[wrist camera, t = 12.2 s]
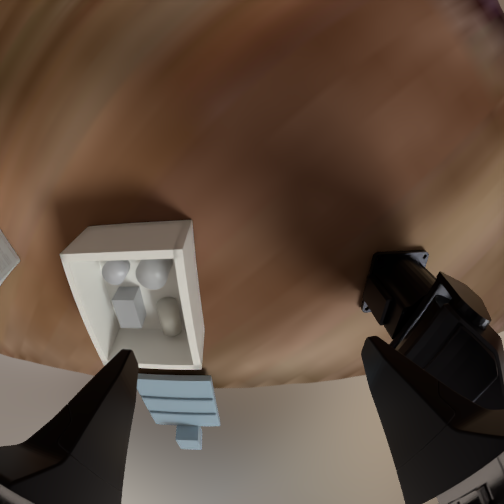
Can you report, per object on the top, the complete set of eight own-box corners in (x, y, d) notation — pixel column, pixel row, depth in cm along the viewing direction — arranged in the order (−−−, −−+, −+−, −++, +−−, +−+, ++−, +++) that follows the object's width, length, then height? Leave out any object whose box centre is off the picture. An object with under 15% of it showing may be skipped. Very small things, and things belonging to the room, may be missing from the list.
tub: (88, 226, 20) (59, 254, 16) (192, 219, 21) (182, 249, 16) (117, 328, 25) (103, 364, 21) (204, 329, 26) (201, 369, 21)
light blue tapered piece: (134, 366, 28) (127, 395, 25) (211, 368, 29) (210, 398, 25) (163, 424, 35) (160, 447, 31) (222, 426, 36) (222, 449, 32)
